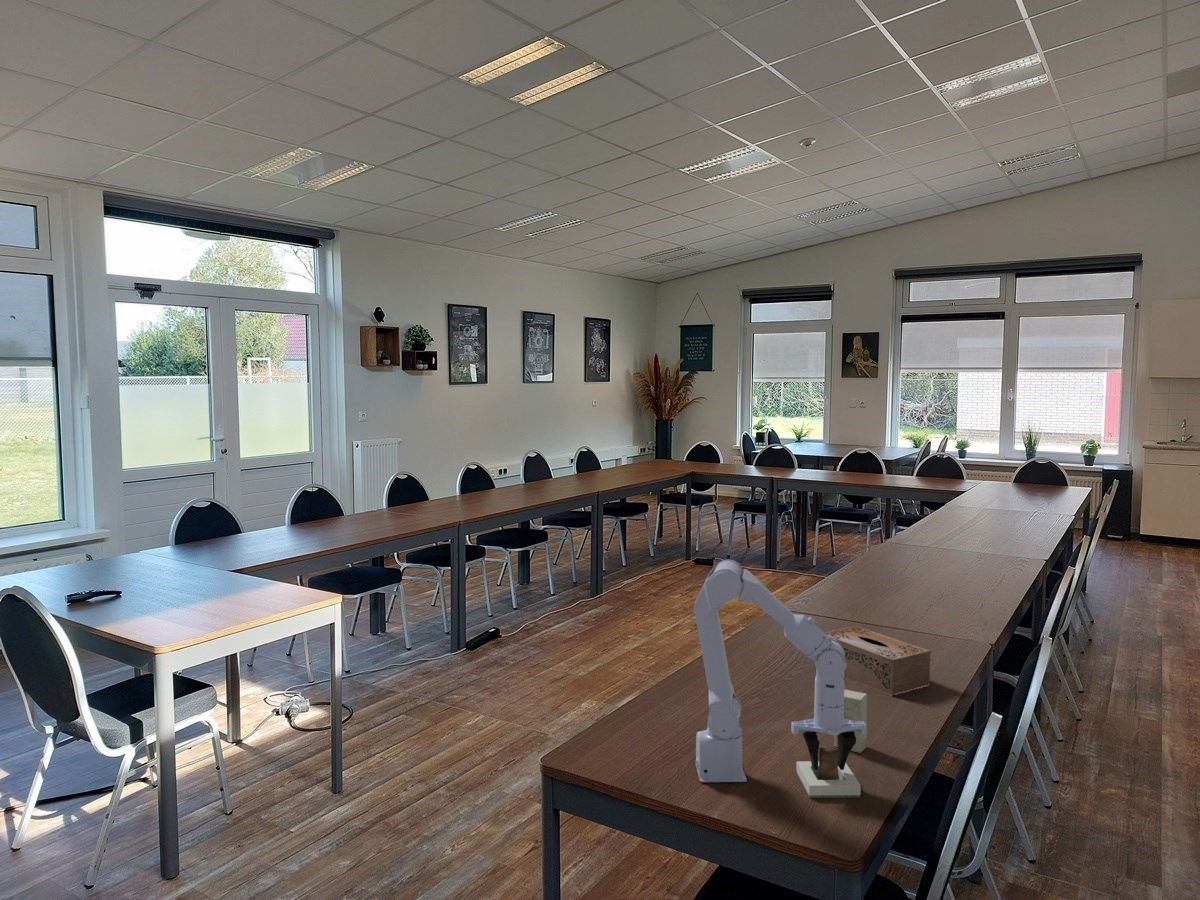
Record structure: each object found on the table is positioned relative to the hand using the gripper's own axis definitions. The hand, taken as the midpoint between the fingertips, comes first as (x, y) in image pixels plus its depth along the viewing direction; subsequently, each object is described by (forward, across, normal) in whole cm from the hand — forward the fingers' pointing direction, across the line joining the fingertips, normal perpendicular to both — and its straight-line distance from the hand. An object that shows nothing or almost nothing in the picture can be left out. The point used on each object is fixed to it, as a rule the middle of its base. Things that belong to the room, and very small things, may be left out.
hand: (827, 767), depth 161 cm
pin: (+3, 0, 0) cm, 3 cm away
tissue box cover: (+4, +30, +60) cm, 67 cm away
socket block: (+4, 0, 0) cm, 4 cm away
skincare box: (+4, +10, +17) cm, 20 cm away
